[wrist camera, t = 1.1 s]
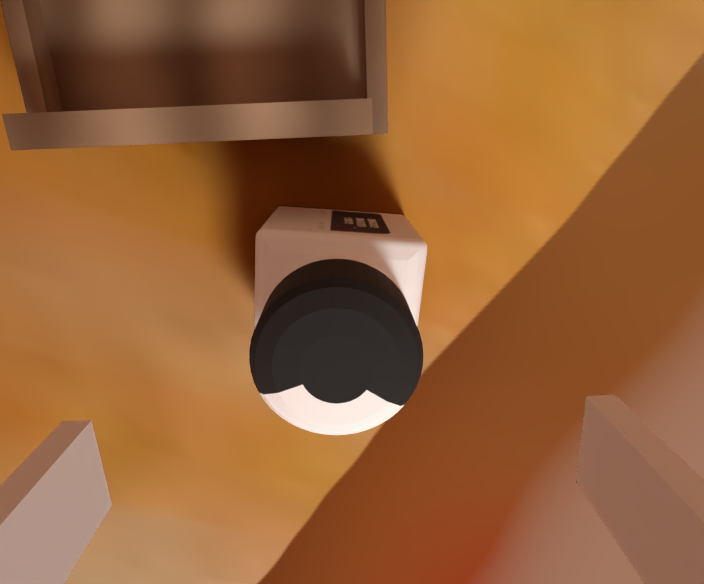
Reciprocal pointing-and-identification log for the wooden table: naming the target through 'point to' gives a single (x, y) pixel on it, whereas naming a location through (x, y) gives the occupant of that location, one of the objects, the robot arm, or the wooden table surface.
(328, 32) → the rack
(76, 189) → the wooden table surface
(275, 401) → the container
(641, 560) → the robot arm
